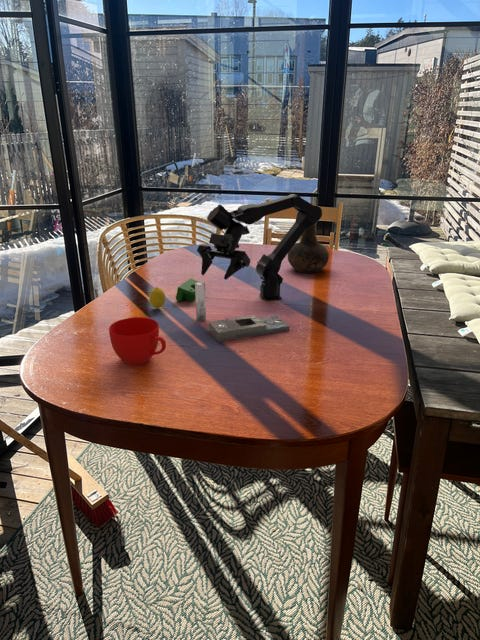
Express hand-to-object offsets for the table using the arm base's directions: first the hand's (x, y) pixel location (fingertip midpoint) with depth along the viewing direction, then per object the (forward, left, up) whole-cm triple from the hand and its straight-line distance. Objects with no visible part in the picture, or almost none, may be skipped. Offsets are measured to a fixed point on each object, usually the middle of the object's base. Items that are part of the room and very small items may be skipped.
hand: (213, 276), depth 157 cm
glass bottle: (-56, -35, -13) cm, 67 cm away
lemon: (+17, -11, -13) cm, 24 cm away
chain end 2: (-8, +18, -13) cm, 24 cm away
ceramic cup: (+30, +27, -13) cm, 43 cm away
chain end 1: (-1, +18, -13) cm, 23 cm away
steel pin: (+6, +4, -13) cm, 15 cm away
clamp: (+3, -18, -13) cm, 22 cm away
